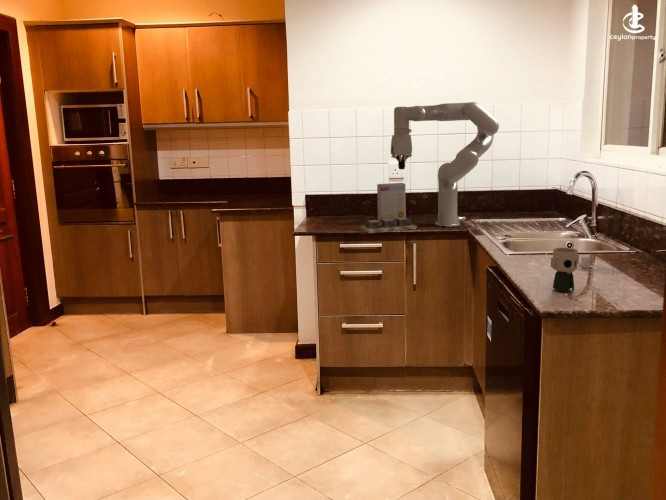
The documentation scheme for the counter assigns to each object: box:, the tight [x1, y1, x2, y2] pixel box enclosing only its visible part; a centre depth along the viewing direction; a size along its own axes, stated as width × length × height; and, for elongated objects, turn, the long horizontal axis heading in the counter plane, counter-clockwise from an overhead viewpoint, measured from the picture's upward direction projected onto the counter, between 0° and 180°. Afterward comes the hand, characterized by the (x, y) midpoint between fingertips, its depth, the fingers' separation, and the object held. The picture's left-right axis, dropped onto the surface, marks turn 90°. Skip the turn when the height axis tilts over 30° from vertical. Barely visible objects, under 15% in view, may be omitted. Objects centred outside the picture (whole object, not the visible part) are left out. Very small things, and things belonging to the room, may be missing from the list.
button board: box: [359, 217, 418, 234], centre depth 312 cm, size 26×12×4 cm, turn 110°
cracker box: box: [376, 182, 407, 221], centre depth 330 cm, size 14×6×21 cm, turn 105°
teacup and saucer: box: [576, 256, 598, 271], centre depth 224 cm, size 9×8×4 cm
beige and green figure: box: [550, 247, 580, 293], centre depth 193 cm, size 11×7×13 cm, turn 114°
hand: (401, 169), depth 315 cm, fingers closed
